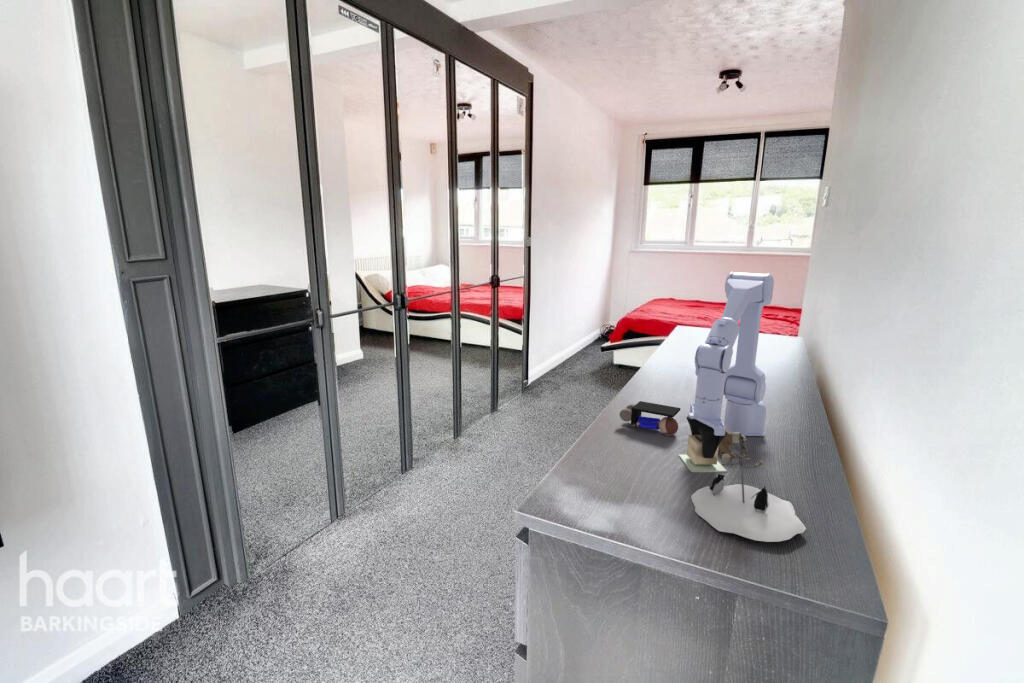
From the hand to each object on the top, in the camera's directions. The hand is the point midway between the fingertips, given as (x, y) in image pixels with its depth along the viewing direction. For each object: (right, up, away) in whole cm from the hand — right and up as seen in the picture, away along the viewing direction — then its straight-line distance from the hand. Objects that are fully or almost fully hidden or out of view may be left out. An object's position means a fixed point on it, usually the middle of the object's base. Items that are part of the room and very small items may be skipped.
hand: (702, 451), depth 108 cm
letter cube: (0, -2, 0) cm, 2 cm away
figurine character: (-7, +1, +20) cm, 21 cm away
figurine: (0, -8, -19) cm, 21 cm away
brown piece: (+8, -1, +10) cm, 13 cm away
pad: (0, -3, +1) cm, 3 cm away
